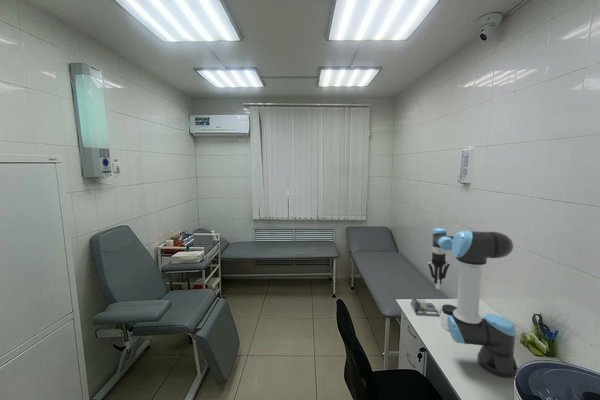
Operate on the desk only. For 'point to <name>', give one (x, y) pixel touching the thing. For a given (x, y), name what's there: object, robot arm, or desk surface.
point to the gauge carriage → (422, 304)
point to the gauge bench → (428, 312)
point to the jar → (446, 315)
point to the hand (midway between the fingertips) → (437, 288)
